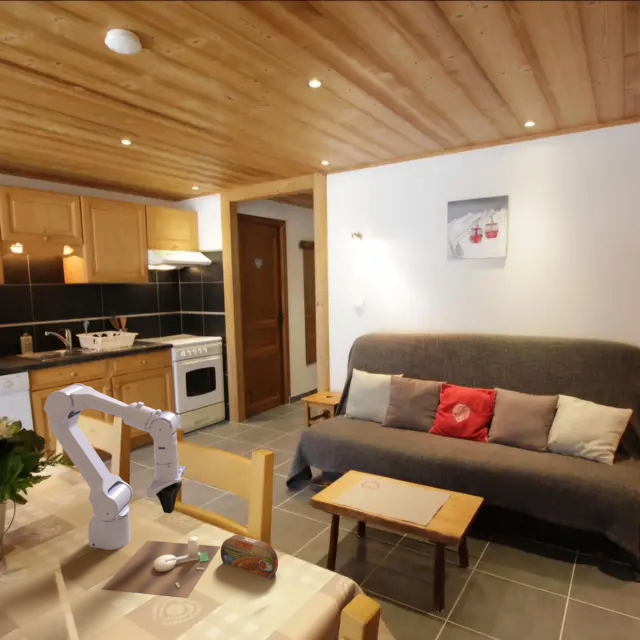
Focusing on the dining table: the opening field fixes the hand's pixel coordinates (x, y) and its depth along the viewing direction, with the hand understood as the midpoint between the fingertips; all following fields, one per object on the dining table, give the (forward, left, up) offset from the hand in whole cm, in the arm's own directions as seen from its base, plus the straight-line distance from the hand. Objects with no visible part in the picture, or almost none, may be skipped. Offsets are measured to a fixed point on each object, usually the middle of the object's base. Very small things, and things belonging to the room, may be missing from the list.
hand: (168, 511), depth 118 cm
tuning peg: (+6, -9, -8) cm, 13 cm away
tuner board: (+4, -10, -9) cm, 14 cm away
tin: (+24, -8, -10) cm, 27 cm away
